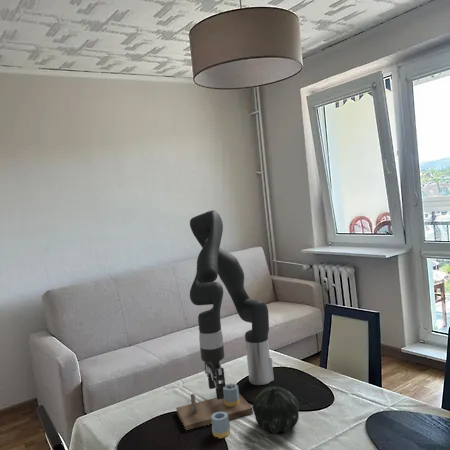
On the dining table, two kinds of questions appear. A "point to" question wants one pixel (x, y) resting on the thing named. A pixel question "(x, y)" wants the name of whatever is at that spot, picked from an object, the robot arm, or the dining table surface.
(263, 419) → the squash
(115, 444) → the dining table surface
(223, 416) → the slate sleeve
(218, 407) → the pin board
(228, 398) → the seated sleeve
